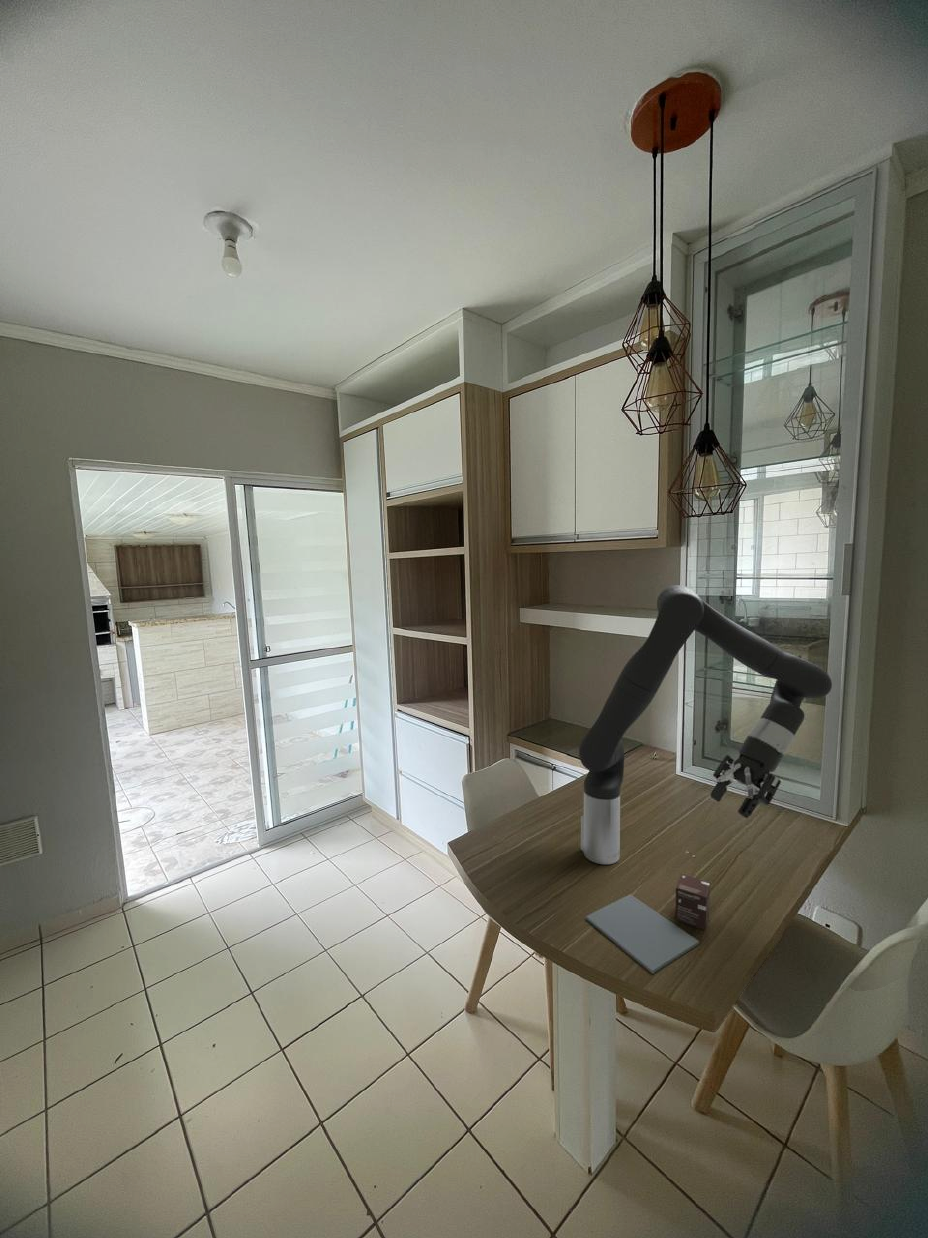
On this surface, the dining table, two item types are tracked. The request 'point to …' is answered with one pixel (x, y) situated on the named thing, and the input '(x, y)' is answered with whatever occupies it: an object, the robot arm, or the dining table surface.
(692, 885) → the box
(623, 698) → the robot arm
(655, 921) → the mat
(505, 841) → the dining table surface
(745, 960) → the dining table surface
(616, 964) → the dining table surface
